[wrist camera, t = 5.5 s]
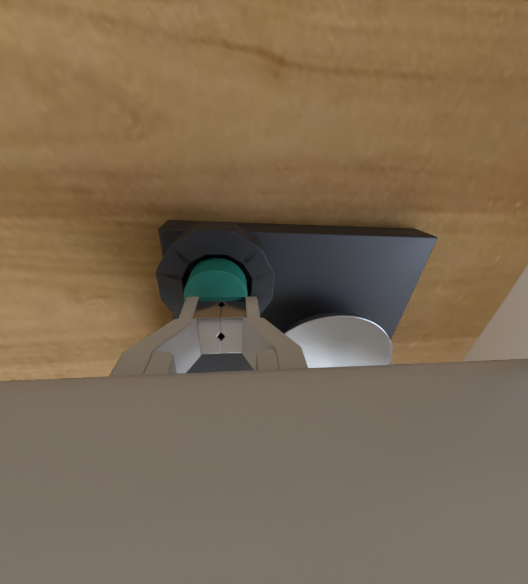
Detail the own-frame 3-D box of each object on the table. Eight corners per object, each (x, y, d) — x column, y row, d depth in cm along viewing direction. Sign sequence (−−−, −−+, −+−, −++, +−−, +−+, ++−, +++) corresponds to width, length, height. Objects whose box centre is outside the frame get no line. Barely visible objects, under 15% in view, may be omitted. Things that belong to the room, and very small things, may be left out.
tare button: (247, 257, 11) (248, 270, 10) (245, 306, 13) (246, 323, 12) (185, 256, 11) (179, 270, 10) (191, 307, 13) (187, 324, 11)
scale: (419, 222, 15) (466, 238, 12) (359, 371, 22) (378, 404, 19) (165, 211, 13) (145, 228, 10) (191, 380, 20) (184, 418, 17)
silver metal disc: (410, 310, 14) (415, 314, 14) (366, 404, 19) (368, 408, 19) (258, 313, 13) (258, 317, 12) (252, 412, 18) (252, 417, 17)
